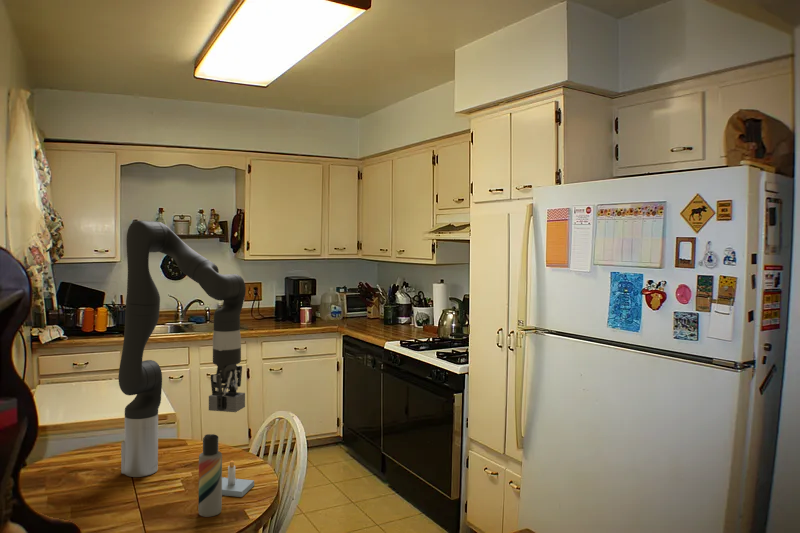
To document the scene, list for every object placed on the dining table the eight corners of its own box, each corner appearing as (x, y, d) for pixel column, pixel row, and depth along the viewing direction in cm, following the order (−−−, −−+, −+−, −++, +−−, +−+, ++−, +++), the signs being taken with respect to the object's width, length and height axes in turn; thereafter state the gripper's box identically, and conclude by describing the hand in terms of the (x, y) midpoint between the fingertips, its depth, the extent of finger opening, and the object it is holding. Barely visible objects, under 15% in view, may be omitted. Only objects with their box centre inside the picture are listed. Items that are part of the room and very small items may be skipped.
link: (208, 410, 162) (208, 395, 162) (218, 405, 168) (218, 391, 168) (235, 412, 161) (235, 397, 161) (245, 406, 166) (245, 392, 166)
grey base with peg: (208, 493, 163) (208, 465, 163) (221, 482, 171) (221, 455, 171) (241, 497, 161) (242, 468, 161) (254, 485, 169) (254, 457, 169)
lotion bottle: (201, 507, 155) (202, 431, 154) (223, 507, 155) (224, 431, 154) (195, 517, 149) (196, 439, 148) (218, 517, 149) (219, 438, 149)
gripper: (226, 341, 171) (226, 399, 172) (200, 350, 157) (200, 413, 158) (251, 342, 170) (250, 401, 170) (226, 351, 156) (226, 414, 156)
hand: (226, 406), depth 164 cm, fingers closed on link, 5 cm apart
